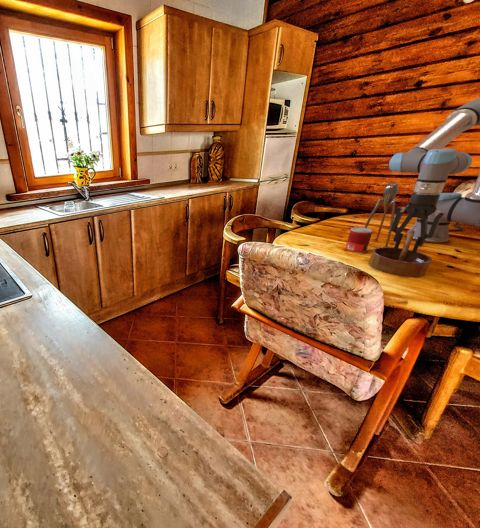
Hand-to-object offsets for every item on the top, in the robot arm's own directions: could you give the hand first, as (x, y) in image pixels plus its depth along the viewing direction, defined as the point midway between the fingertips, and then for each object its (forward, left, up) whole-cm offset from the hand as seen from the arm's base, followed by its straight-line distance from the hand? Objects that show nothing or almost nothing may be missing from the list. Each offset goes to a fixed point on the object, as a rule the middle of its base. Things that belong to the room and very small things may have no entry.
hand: (404, 250), depth 113 cm
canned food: (-6, -18, -7) cm, 21 cm away
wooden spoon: (0, 0, -6) cm, 6 cm away
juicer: (-24, -18, -7) cm, 31 cm away
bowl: (+4, 0, -7) cm, 8 cm away
